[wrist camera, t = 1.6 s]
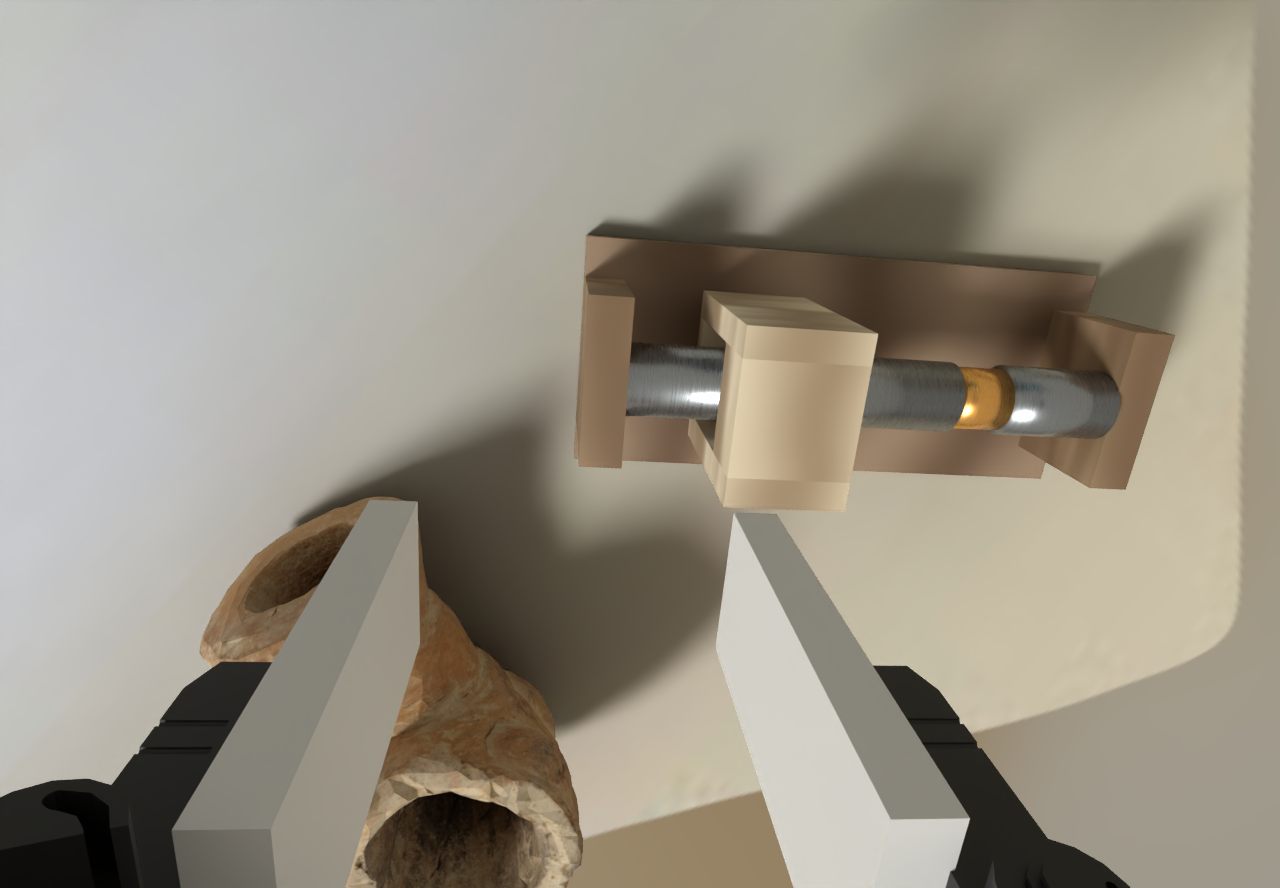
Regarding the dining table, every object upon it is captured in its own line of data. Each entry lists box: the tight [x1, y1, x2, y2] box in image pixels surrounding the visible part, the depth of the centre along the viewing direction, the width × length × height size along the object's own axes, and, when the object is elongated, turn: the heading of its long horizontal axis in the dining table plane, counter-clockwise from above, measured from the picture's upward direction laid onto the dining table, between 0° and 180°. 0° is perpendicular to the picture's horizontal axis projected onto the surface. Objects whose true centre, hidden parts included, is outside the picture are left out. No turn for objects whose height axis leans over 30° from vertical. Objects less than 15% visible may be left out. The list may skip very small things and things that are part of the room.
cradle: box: [574, 235, 1175, 489], centre depth 29 cm, size 21×9×6 cm, turn 85°
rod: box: [626, 342, 1120, 439], centre depth 27 cm, size 18×3×3 cm, turn 85°
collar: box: [688, 291, 878, 512], centre depth 26 cm, size 4×6×7 cm
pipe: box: [200, 496, 583, 888], centre depth 30 cm, size 9×16×10 cm, turn 32°
